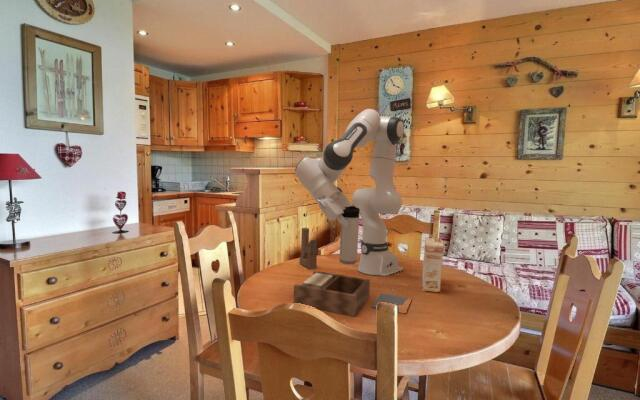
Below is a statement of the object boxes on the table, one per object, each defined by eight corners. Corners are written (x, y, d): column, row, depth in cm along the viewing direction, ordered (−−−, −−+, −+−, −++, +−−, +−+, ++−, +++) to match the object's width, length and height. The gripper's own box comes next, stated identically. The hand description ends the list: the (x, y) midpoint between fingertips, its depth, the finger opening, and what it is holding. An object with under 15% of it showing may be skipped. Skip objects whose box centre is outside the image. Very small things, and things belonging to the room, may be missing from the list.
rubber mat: (380, 294, 140) (380, 293, 140) (411, 300, 136) (412, 298, 136) (371, 307, 127) (371, 306, 127) (406, 314, 123) (406, 312, 123)
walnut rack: (293, 304, 128) (294, 285, 127) (314, 287, 146) (314, 270, 145) (354, 316, 120) (355, 296, 119) (368, 297, 137) (369, 279, 136)
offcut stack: (301, 302, 130) (302, 282, 129) (315, 290, 142) (315, 272, 141) (320, 306, 128) (321, 286, 127) (332, 294, 140) (333, 275, 139)
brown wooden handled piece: (309, 269, 169) (311, 232, 167) (299, 263, 178) (300, 227, 176) (316, 268, 171) (317, 231, 169) (305, 262, 180) (306, 227, 178)
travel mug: (358, 260, 132) (361, 206, 129) (354, 265, 126) (358, 209, 123) (341, 258, 134) (344, 205, 131) (337, 263, 127) (340, 207, 125)
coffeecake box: (440, 293, 144) (444, 246, 141) (422, 291, 145) (425, 244, 143) (438, 281, 158) (442, 238, 156) (421, 279, 160) (424, 237, 158)
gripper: (322, 191, 119) (349, 223, 117) (342, 187, 138) (365, 215, 136) (309, 204, 121) (335, 235, 119) (330, 198, 140) (353, 225, 138)
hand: (351, 224), depth 127 cm, fingers open, 6 cm apart
